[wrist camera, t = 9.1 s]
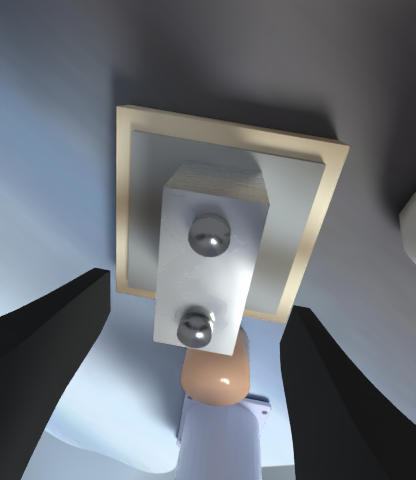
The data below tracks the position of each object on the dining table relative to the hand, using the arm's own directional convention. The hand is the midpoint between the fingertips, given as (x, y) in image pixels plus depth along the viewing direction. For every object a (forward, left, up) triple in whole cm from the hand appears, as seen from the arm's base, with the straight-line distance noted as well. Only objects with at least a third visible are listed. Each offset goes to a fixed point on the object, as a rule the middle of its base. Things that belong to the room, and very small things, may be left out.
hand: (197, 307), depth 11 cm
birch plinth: (0, 0, -9) cm, 9 cm away
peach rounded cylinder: (-11, -2, -9) cm, 14 cm away
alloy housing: (0, 0, -6) cm, 6 cm away
